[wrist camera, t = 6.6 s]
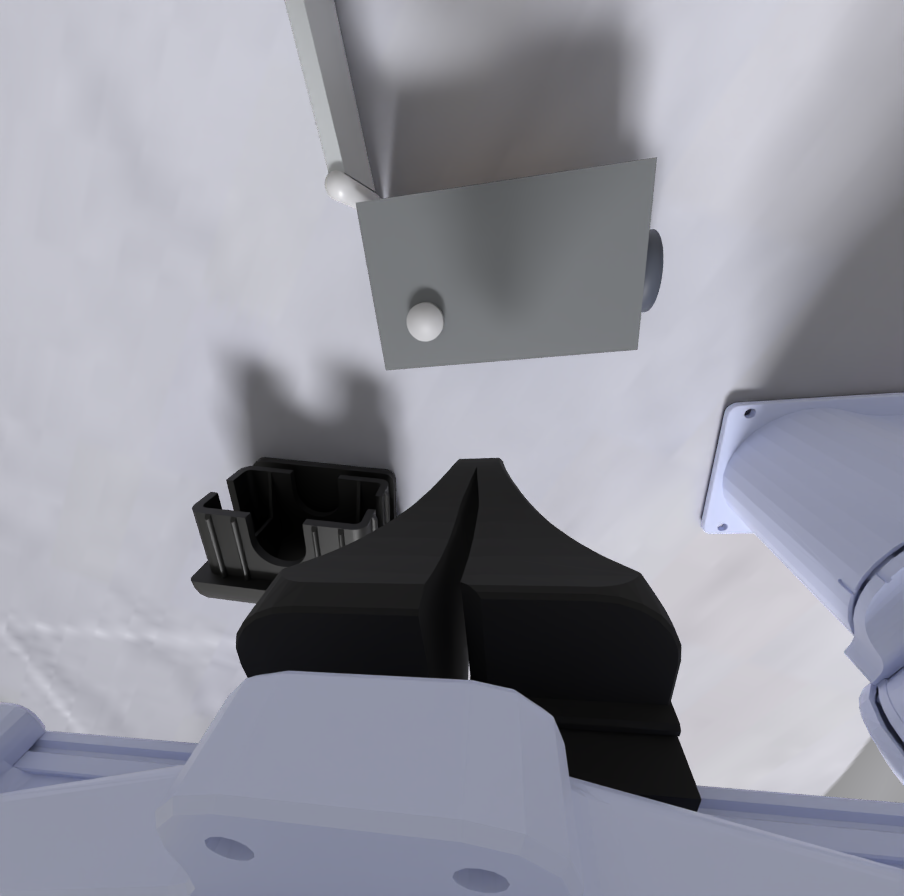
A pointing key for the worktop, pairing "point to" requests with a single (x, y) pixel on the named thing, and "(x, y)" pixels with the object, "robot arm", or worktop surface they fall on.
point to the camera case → (514, 267)
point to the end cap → (285, 521)
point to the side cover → (332, 99)
